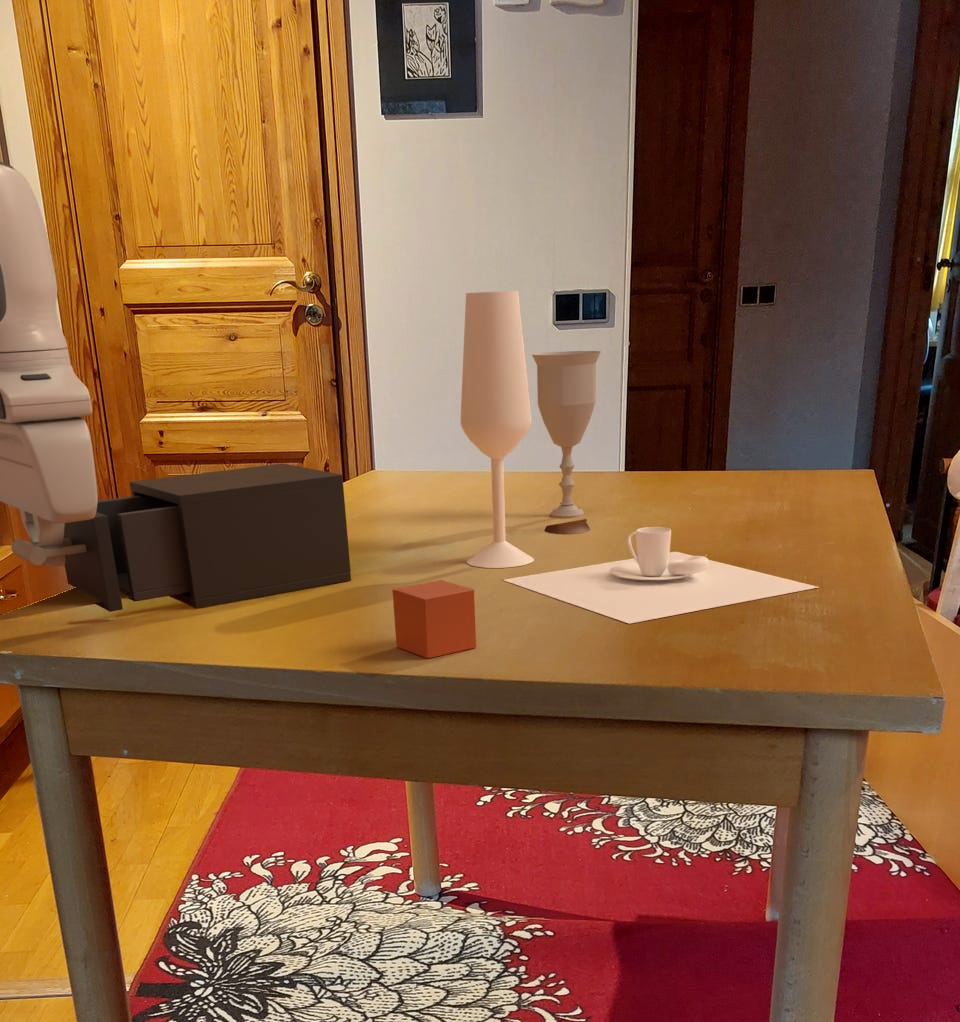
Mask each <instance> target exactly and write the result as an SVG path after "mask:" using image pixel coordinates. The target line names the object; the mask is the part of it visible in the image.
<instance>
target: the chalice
mask: <svg viewBox="0 0 960 1022" xmlns="http://www.w3.org/2000/svg"><path fill="white" fill-rule="evenodd" d="M600 355H601V351H600V350H572V351H571V350H570V351H549V352H538V353H532V354H531V356H532V358H533V360H534V362H535V364H536V381H537V382H536V383H537V384H536V385H537V406H538V409H539V412H540V416H541V419H542V422H543V425H544V426H545V428H546V430H547V432H548V435H549V436H550V439H551V441H552V443H553V444H554V445H556V446H558V447H559V448H560V449H561V453H562V458H561V463H560V465H559V469H560V470H561V473H562V477H561V481H560V482H559V484H558V486H559V487H560V488H561V491H562V500H561V502H560V503H559V506H557V507H554V508H553V510H552V511H550V517H551V518H555V519H575V518H581V517H584V514H585V512H584V511H583V509H582V508H581V507H579V506H576V505H575V502H574V501H573V497H572V492H573V488H574V487H575V485H576V483H575V482H574V480H573V477H572V473H573V470H574V468H575V464H574V462H573V458H572V452H573V447H575V446H577V445H579V444H580V443H581V441H582V440H583V437H584V435H585V433H586V430H587V427H588V425H589V424H590V420H591V418H592V414H593V412H594V408H595V406H596V397H597V395H596V392H597V391H596V388H597V387H596V386H597V384H596V383H597V382H596V379H597V377H596V376H597V375H596V374H597V373H596V370H597V368H596V367H597V365H596V364H597V361H598V359H599V357H600ZM587 521H588V520H587V518H583V519H579V520H577V519H576V520H571V521H566V522H561V523H556V524H548V525H546V526H545V528H544V533H548V534H554V535H555V534H556V535H573V534H582V533H586V532H589V531H591V528H590V526H589V524H588V522H587Z"/></svg>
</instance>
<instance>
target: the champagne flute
mask: <svg viewBox="0 0 960 1022" xmlns="http://www.w3.org/2000/svg"><path fill="white" fill-rule="evenodd" d="M522 323H523V322H522V313H521V305H520V293H519V290H506V291H483V292H481V291H480V292H466V293H465V310H464V329H463V330H464V333H463V355H462V375H461V377H462V378H461V400H460V401H461V402H460V427H461V429H462V430H463V432H464V434H465V436H466V437H467V439H468V440H469V441H470V443H472V444H473V445H474V446H475V447H476V448H477V449H478V450H479V451H480V452H481V453H482V454H483V455H485V456H487V457H488V458H489V459H490V468H491V495H492V496H491V498H492V499H491V501H492V527H493V529H492V530H493V541H492V542H491V543H489V544H488V545H487V546H485V547H483V548H482V549H481V550H480V551H479V552H477V553H475V554H474V555H473V556H471V557H470V558H468V559H467V560H466V564H467V565H469V566H472V567H477V568H485V569H504V568H515V567H520V566H521V567H522V566H525V565H529V564H531V563H533V562H534V561H535V558H534V557H532V556H531V555H529V554H527V553H526V552H524V551H523V550H521V549H520V548H518V547H516V546H514V545H513V544H512V543H510V542H508V541H507V540H506V537H507V536H506V505H505V504H506V503H505V474H504V473H505V472H504V458H505V457H507V456H508V455H509V454H511V453H512V452H513V450H515V448H516V447H517V446H518V445H519V444H520V443H521V442H522V440H523V439H524V438H525V436H526V434H527V433H528V432H529V430H530V427H531V425H532V420H533V419H532V410H531V400H530V399H531V398H530V391H529V390H530V389H529V380H528V371H527V362H526V351H525V343H524V334H523V333H524V332H523V324H522Z"/></svg>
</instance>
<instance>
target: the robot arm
mask: <svg viewBox="0 0 960 1022" xmlns="http://www.w3.org/2000/svg"><path fill="white" fill-rule="evenodd" d="M39 205H40V204H39V202H38V199H37V197H36V195H35V193H34V190H33V189H32V187H31V185H30V182H29V181H28V180H27V178H26V177H25V175H24V174H23V173H21V172H20V171H19V170H17V169H15V168H14V167H13V166H12V165H10V164H8V163H5V162H3V161H1V160H0V502H1V503H3V504H6V505H8V506H11V507H13V508H15V509H18V510H19V512H20V517H21V522H22V525H23V526H24V528H25V529H24V530H25V531H26V534H27V536H28V539H29V542H30V543H32V544H34V545H36V546H38V547H40V548H42V549H43V550H47V549H54V548H61V547H63V539H64V526H65V524H64V523H69V522H77V521H84V520H90V519H93V518H94V517H95V515H96V511H97V503H98V501H99V499H98V498H99V495H98V484H97V475H96V466H95V458H94V451H93V442H92V437H91V434H90V429H89V426H88V423H87V422H86V421H85V419H84V418H86V417H87V418H88V417H91V416H92V414H93V405H92V400H91V394H90V391H89V389H88V386H86V385H85V384H84V383H83V381H81V379H79V377H78V376H77V375H76V373H75V371H74V368H73V365H72V364H71V359H70V352H69V348H68V343H67V340H66V337H65V335H64V332H63V331H62V329H61V326H60V324H59V323H60V322H59V319H58V313H57V299H58V284H57V278H56V272H55V266H54V260H53V255H52V250H51V246H50V245H51V244H50V241H49V238H48V237H49V236H48V234H47V233H48V232H47V229H46V226H45V221H44V218H43V215H42V211H41V208H40V206H39ZM65 562H66V559H65V555H64V556H57V557H50V558H46V561H45V562H44V563H43V564H42V565H44V566H46V567H47V568H57V567H62V566H65V565H64V564H65Z"/></svg>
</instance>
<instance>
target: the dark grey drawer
mask: <svg viewBox="0 0 960 1022" xmlns="http://www.w3.org/2000/svg"><path fill="white" fill-rule="evenodd" d="M64 524H65V526H64V539H63V547H61V548H54V549H47V550H43V549H42V548H40V547H38V546H36V545H34V544H32V543H31V542H30V541H27V540H25V539H23V538H18V539H16V540H14V541H13V542H12V543H11V552H12V553H13V554H14V555H15V556H16V557H18V558H20V559H21V560H24V561H26V562H28V563H30V564H32V565H33V566H42V565H43V563H44V562H45V561H46V558H50V557H57V556H64V555H65V559H66V562H65V564H64V565H63V566H64V569H65V570H64V571H65V575H66V580H67V584H68V585H70V586H71V587H74V588H76V589H78V590H80V591H82V592H83V593H84V594H85V593H86V594H87V595H89V596H91V597H93V598H94V599H97V600H99V601H100V602H96V603H94V605H96V606H98V607H100V608H102V609H104V610H105V611H108V612H111V613H112V612H115V611H123V609H124V607H123V601H122V596H121V593H123V594H125V595H127V596H129V597H127V599H128V600H130V601H132V602H135V603H136V602H142V601H147V600H154V599H158V598H159V599H161V598H165V597H170V596H171V595H177V594H183V593H188V592H191V591H190V585H189V578H188V571H187V564H186V557H185V550H184V543H183V537H182V530H181V523H180V516H179V509H178V504H176V503H172V502H169V501H165V500H162V499H158V498H155V497H151V496H148V495H139V496H132V495H131V496H124V497H123V496H122V497H116V498H108V499H101V500H98V503H97V511H96V515H95V517H94V518H93V519H90V520H84V521H77V522H69V523H64Z"/></svg>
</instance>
